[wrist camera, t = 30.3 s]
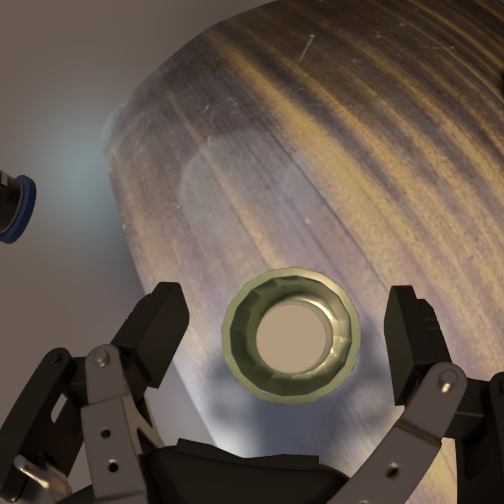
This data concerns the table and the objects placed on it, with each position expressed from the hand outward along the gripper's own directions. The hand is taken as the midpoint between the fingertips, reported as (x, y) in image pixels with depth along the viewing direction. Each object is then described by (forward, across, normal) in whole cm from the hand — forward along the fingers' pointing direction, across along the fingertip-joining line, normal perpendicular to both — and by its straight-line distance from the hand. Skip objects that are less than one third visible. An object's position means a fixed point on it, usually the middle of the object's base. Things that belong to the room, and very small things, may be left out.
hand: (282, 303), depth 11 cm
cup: (+7, 0, +9) cm, 12 cm away
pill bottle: (+7, 0, +9) cm, 11 cm away
